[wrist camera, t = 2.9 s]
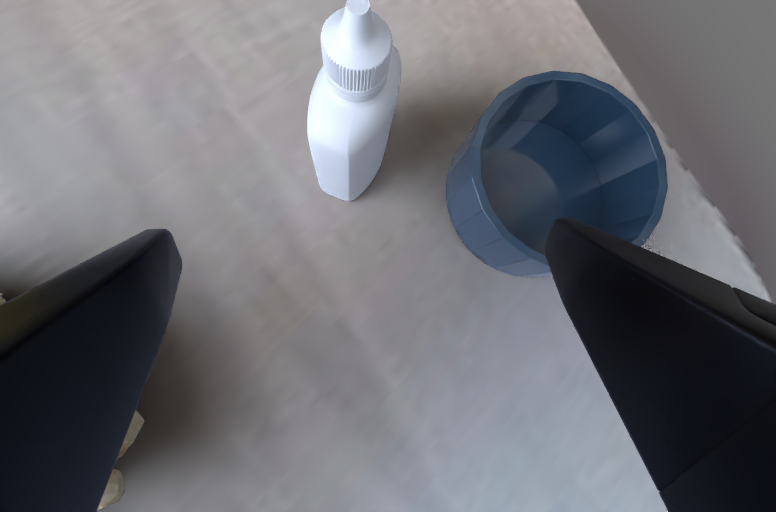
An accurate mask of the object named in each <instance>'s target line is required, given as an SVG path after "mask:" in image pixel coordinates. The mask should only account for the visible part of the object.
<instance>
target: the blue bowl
mask: <svg viewBox="0 0 776 512" xmlns="http://www.w3.org/2000/svg"><path fill="white" fill-rule="evenodd" d="M667 188H668V186H667V174H666V161H665V156H664V154H663V151H662V148H661V146H660V143H659V141H658V138H657V135H656V133H655V130H654V129H653V127H652V126H651V125H650V123H649V122H648V120H647V119H646V118H645V116H644V115H643V114H642V112H641V111H640V110H639V108H638V107H637V106H636V105H635V104H634V103H633V102H632V101H631V100H629V99H628V98H627V97H626V96H624V95H623V94H622V93H620V92H619V91H618V90H617V89H615V88H614V87H613V86H610V84H607V83H605V82H602V81H600V80H597V79H595V78H592V77H590V76H587V75H585V74H582V73H571V72H560V71H550V72H546V73H542V74H537V75H533V76H529V77H525V78H522V79H521V80H519V81H518V82H516V83H515V84H513V85H511V86H510V87H508V88H507V89H505V90H504V91H502V92H500V93H499V94H498V95H497V97H496V98H495V99H494V100H493V102H492V103H491V104H490V106H489V107H488V108H487V109H486V111H485V112H484V113H483V115H482V116H481V117H480V119H479V120H478V122H477V123H476V124H475V126H474V127H473V129H472V130H471V131H470V133H469V134H468V136H467V137H466V138H465V140H464V141H463V143H462V144H461V145H460V147H459V148H458V150H457V152H456V154H455V156H454V158H453V160H452V163H451V165H450V168H449V172H448V176H447V183H446V201H447V207H448V212H449V215H450V218H451V221H452V223H453V226H454V228H455V230H456V232H457V234H458V235H459V237H460V238H461V240H462V241H463V243H464V244H465V245H466V246H467V248H468V249H469V250H470V251H471V252H472V253H473V254H474V255H475V256H476V257H477V258H479V259H480V260H481V261H483V262H484V263H485V264H487V265H489V266H491V267H492V268H494V269H496V270H499V271H501V272H504V273H506V274H510V275H514V276H520V277H550V276H552V273H551V271H550V268H549V265H548V262H547V260H546V257H545V254H544V247H545V243H546V240H547V238H548V235H549V232H550V230H551V227H552V225H553V222H554V221H555V220H557V219H559V218H574V219H577V220H579V221H581V222H584V223H586V224H588V225H591V226H593V227H595V228H598V229H600V230H602V231H605V232H607V233H609V234H612V235H614V236H616V237H619V238H621V239H623V240H626V241H628V242H630V243H633V244H635V245H637V246H640V247H641V246H642V245H644V244H645V242H646V241H647V239H648V238H649V236H650V235H651V233H652V231H653V230H654V228H655V227H656V225H657V223H658V222H659V220H660V218H661V215H662V211H663V207H664V202H665V198H666V194H667Z"/></svg>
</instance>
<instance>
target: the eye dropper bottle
mask: <svg viewBox="0 0 776 512" xmlns="http://www.w3.org/2000/svg"><path fill="white" fill-rule="evenodd" d="M321 47H322V56H323V66H322V68H321V70H320V71H319V74H318V76H317V78H316V80H315V83H314V86H313V89H312V92H311V96H310V101H309V107H308V116H307V132H308V140H309V145H310V150H311V154H312V158H313V162H314V166H315V170H316V174H317V178H318V182H319V185H320V188H321V189H322V190H323V191H324V192H326V193H328V194H330V195H332V196H334V197H336V198H339V199H341V200H343V201H352V200H354V199H356V198H357V197H358V196H359V195H360V194H361V193H362V192H363V191H364V190H365V189H366V188H367V187H368V186H369V184H370V183H371V182H372V180H373V179H374V177H375V175H376V174H377V172H378V170H379V168H380V165H381V163H382V160H383V156H384V153H385V148H386V144H387V140H388V136H389V132H390V127H391V123H392V119H393V115H394V111H395V106H396V102H397V97H398V93H399V87H400V80H401V60H400V55H399V53H398V51H397V49H396V48H395V47H394V46H393V45H392V36H391V33H390V29H389V27H388V26H387V24H386V23H385V21H384V20H383V18H381V17H380V16H379V15H378V14H376V13H375V12H373V11H371V10H370V4H369V1H368V0H347V2H346V6H345V8H342V9H340V10H338V11H336V12H335V13H333V14H332V15H331V16H330V17H329V18H327V20H326V21H325V24H324V26H323V27H322V31H321Z"/></svg>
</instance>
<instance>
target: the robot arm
mask: <svg viewBox="0 0 776 512" xmlns="http://www.w3.org/2000/svg"><path fill="white" fill-rule="evenodd" d="M544 254H545V257H546V260H547V262H548V265H549V268H550V271H551V273H552V276H553V279H554V281H555V284H556V287H557V289H558V292H559V295H560V297H561V300H562V302H563V304H564V307H565V309H566V311H567V313H568V315H569V317H570V319H571V321H572V323H573V325H574V327H575V329H576V331H577V333H578V335H579V336H580V338H581V340H582V342H583V344H584V346H585V348H586V350H587V352H588V354H589V356H590V358H591V360H592V362H593V364H594V366H595V368H596V370H597V372H598V374H599V376H600V378H601V380H602V382H603V384H604V386H605V387H606V389H607V391H608V393H609V395H610V397H611V399H612V401H613V403H614V405H615V407H616V409H617V411H618V413H619V415H620V417H621V419H622V421H623V423H624V425H625V427H626V429H627V431H628V433H629V435H630V437H631V438H632V440H633V442H634V444H635V446H636V448H637V450H638V452H639V454H640V456H641V458H642V460H643V462H644V464H645V466H646V468H647V470H648V472H649V474H650V476H651V478H652V480H653V482H654V484H655V486H656V488H657V489H658V490H659V491H660V492H659V494H660V496H661V498H662V500H663V502H664V504H665V506H666V508H667V510H668V512H776V305H775V304H773V303H770V302H768V301H765V300H763V299H761V298H758V297H756V296H754V295H751V294H749V293H747V292H744V291H742V290H740V289H737V288H732V287H731V286H730V285H728V284H725V283H723V282H721V281H718V280H716V279H714V278H712V277H709V276H707V275H705V274H702V273H700V272H698V271H695V270H693V269H691V268H688V267H686V266H684V265H681V264H679V263H677V262H674V261H672V260H670V259H667V258H665V257H663V256H660V255H658V254H656V253H653V252H651V251H649V250H646V249H644V248H642V247H640V246H637V245H635V244H633V243H630V242H628V241H626V240H623V239H621V238H619V237H616V236H614V235H612V234H609V233H607V232H605V231H602V230H600V229H598V228H595V227H593V226H591V225H588V224H586V223H584V222H581V221H579V220H577V219H574V218H559V219H557V220H555V221H554V222H553V225H552V227H551V230H550V232H549V235H548V238H547V240H546V243H545V247H544ZM181 270H182V260H181V257H180V254H179V252H178V249H177V246H176V244H175V241H174V239H173V236H172V234H171V233H170V232H169V231H168V230H166V229H149V230H145V231H143V232H141V233H139V234H137V235H135V236H133V237H132V238H130V239H128V240H126V241H124V242H122V243H120V244H118V245H116V246H114V247H112V248H110V249H108V250H106V251H104V252H103V253H101V254H99V255H97V256H95V257H93V258H91V259H89V260H87V261H85V262H83V263H81V264H79V265H77V266H75V267H73V268H72V269H70V270H68V271H66V272H64V273H62V274H60V275H58V276H56V277H54V278H52V279H50V280H48V281H46V282H44V283H43V284H41V285H39V286H37V287H35V288H33V289H31V290H29V291H27V292H25V293H23V294H21V295H19V296H17V297H15V298H13V299H12V300H10V301H8V302H6V303H4V304H2V305H0V512H97V510H98V507H99V505H100V502H101V499H102V497H103V494H104V492H105V489H106V486H107V484H108V481H109V479H110V476H111V473H112V471H113V468H114V466H115V463H116V460H117V458H118V455H119V452H120V450H121V447H122V445H123V442H124V439H125V437H126V434H127V432H128V429H129V426H130V424H131V421H132V419H133V416H134V413H135V411H136V408H137V405H138V403H139V400H140V398H141V395H142V392H143V390H144V387H145V385H146V382H147V379H148V377H149V374H150V372H151V369H152V366H153V364H154V361H155V358H156V356H157V353H158V351H159V348H160V345H161V343H162V340H163V338H164V335H165V332H166V329H167V326H168V323H169V319H170V316H171V312H172V307H173V303H174V299H175V295H176V291H177V287H178V283H179V279H180V274H181Z"/></svg>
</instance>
